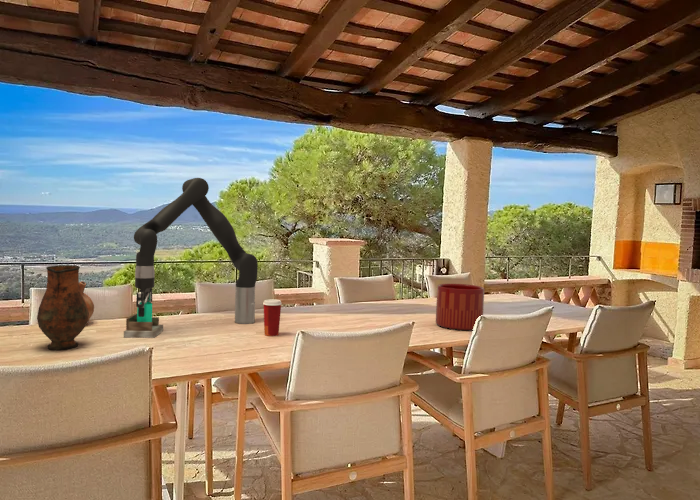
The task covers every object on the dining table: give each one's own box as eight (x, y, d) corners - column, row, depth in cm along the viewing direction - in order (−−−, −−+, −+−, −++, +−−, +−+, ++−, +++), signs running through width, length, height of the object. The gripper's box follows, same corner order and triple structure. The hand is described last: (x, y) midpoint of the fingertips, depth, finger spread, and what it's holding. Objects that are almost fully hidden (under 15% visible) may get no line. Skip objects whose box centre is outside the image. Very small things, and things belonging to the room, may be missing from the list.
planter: (463, 333, 235) (466, 290, 233) (426, 324, 252) (427, 284, 251) (491, 328, 250) (493, 287, 249) (454, 320, 267) (455, 282, 266)
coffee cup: (284, 333, 220) (285, 300, 219) (275, 337, 212) (276, 302, 211) (267, 331, 223) (268, 298, 222) (258, 335, 215) (259, 301, 214)
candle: (139, 326, 213) (140, 298, 212) (153, 326, 214) (154, 298, 213) (134, 329, 207) (135, 300, 207) (149, 329, 208) (150, 301, 207)
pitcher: (29, 353, 176) (29, 268, 174) (48, 339, 196) (49, 262, 194) (82, 351, 180) (82, 269, 178) (95, 337, 201) (95, 263, 199)
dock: (163, 330, 218) (163, 313, 218) (154, 337, 204) (154, 319, 204) (134, 329, 217) (134, 312, 216) (123, 337, 203) (123, 319, 203)
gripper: (149, 278, 203) (148, 318, 203) (158, 274, 217) (158, 311, 218) (130, 278, 202) (129, 318, 203) (140, 274, 216) (140, 311, 217)
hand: (144, 314), depth 210 cm, fingers open, 8 cm apart
